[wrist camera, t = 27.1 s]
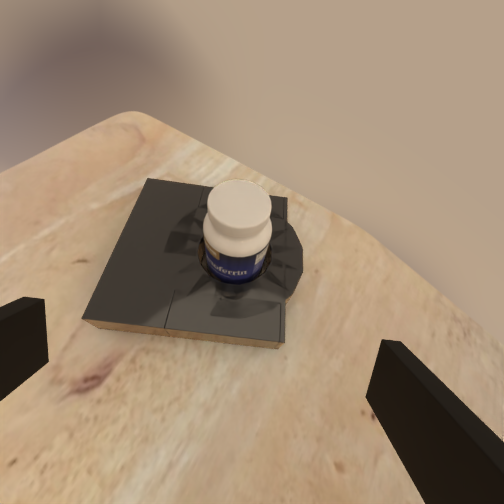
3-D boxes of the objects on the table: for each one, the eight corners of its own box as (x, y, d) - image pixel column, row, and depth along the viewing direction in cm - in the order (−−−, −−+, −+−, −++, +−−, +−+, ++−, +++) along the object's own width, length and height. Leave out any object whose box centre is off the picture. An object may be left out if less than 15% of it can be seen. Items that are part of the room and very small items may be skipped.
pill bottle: (197, 276, 25) (183, 212, 16) (223, 236, 28) (222, 164, 19) (248, 300, 24) (261, 245, 16) (269, 256, 27) (289, 189, 18)
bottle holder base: (295, 216, 30) (301, 199, 28) (295, 351, 22) (305, 345, 19) (153, 196, 30) (147, 177, 27) (97, 328, 21) (80, 318, 19)
